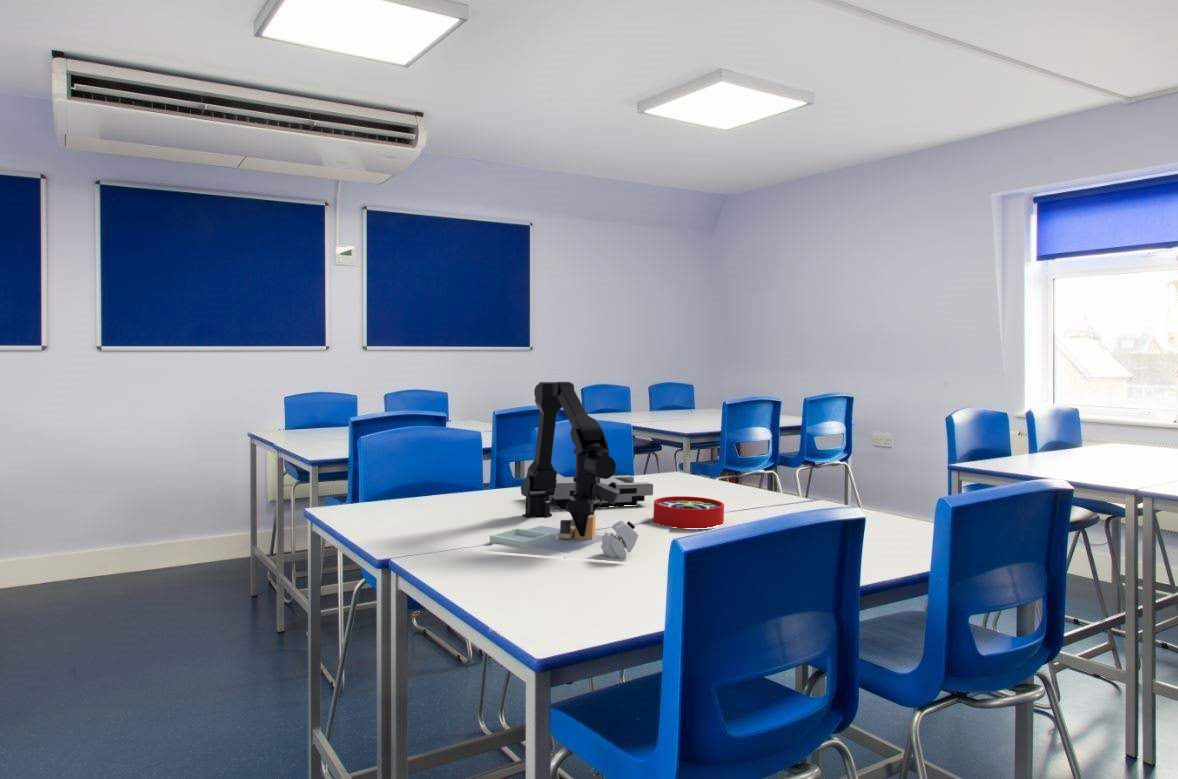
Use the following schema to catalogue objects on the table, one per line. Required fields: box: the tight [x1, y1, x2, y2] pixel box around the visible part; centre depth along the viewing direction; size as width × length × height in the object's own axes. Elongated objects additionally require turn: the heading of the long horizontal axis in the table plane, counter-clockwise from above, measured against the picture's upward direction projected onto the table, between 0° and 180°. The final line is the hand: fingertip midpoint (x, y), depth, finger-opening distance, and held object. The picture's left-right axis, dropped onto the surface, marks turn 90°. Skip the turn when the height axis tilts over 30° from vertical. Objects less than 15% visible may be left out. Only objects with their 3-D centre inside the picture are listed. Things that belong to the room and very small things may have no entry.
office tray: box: [549, 472, 654, 511], centre depth 257 cm, size 21×32×8 cm, turn 110°
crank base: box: [506, 525, 603, 554], centre depth 204 cm, size 22×20×1 cm
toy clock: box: [652, 495, 725, 528], centre depth 230 cm, size 20×6×20 cm
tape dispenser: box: [600, 519, 639, 559], centre depth 188 cm, size 6×7×10 cm
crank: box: [558, 518, 575, 539], centre depth 209 cm, size 15×5×4 cm, turn 166°
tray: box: [489, 527, 552, 548], centre depth 201 cm, size 11×11×2 cm
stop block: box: [575, 514, 597, 539], centre depth 205 cm, size 4×5×6 cm
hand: (585, 533), depth 205 cm, fingers open, 6 cm apart
